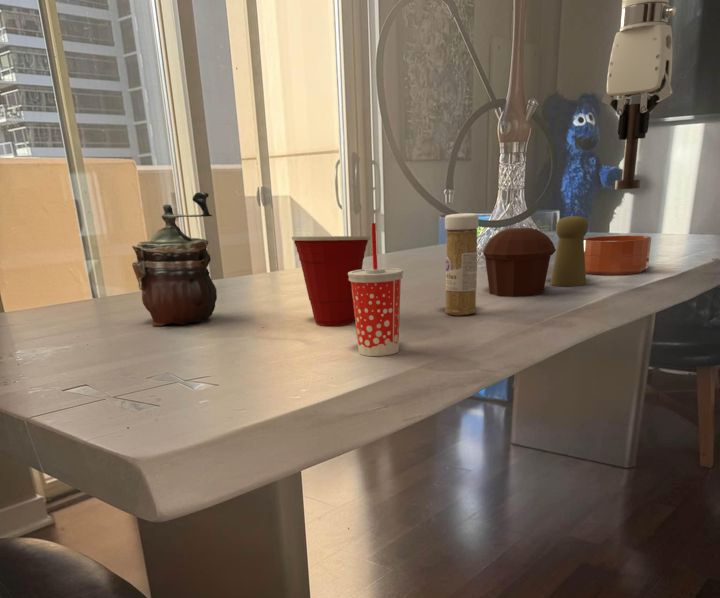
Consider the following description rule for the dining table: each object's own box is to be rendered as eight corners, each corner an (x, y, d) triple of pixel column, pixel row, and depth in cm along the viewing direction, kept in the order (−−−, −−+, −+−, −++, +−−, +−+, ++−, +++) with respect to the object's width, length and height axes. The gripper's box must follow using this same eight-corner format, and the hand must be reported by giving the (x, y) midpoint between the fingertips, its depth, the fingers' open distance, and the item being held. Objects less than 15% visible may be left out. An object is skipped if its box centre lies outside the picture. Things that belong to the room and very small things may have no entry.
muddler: (634, 188, 132) (642, 105, 126) (643, 188, 128) (652, 102, 122) (611, 189, 132) (618, 106, 126) (619, 189, 128) (627, 103, 122)
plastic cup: (388, 317, 100) (385, 229, 95) (346, 332, 92) (340, 236, 87) (328, 313, 105) (322, 230, 101) (283, 326, 97) (274, 236, 93)
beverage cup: (378, 343, 84) (374, 221, 79) (415, 349, 80) (413, 221, 74) (341, 353, 80) (333, 225, 75) (378, 360, 76) (372, 225, 71)
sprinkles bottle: (439, 313, 101) (438, 214, 96) (465, 309, 103) (466, 212, 97) (456, 317, 97) (456, 215, 92) (483, 313, 99) (485, 213, 93)
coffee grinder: (197, 333, 96) (177, 193, 89) (126, 326, 104) (103, 197, 97) (257, 316, 106) (243, 189, 99) (188, 312, 114) (171, 193, 106)
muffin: (475, 297, 112) (476, 232, 108) (486, 287, 122) (487, 227, 118) (551, 297, 108) (555, 230, 105) (556, 287, 118) (559, 224, 114)
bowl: (632, 266, 138) (635, 234, 136) (658, 273, 127) (662, 238, 125) (571, 269, 138) (574, 237, 136) (592, 276, 127) (594, 242, 125)
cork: (562, 287, 117) (566, 218, 113) (543, 283, 123) (547, 217, 118) (593, 284, 119) (598, 216, 114) (573, 280, 124) (578, 215, 120)
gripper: (699, 14, 116) (684, 135, 124) (609, 31, 127) (600, 142, 134) (682, 8, 112) (667, 135, 119) (589, 26, 122) (581, 142, 129)
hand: (632, 138), depth 126 cm, fingers closed on muddler, 2 cm apart
